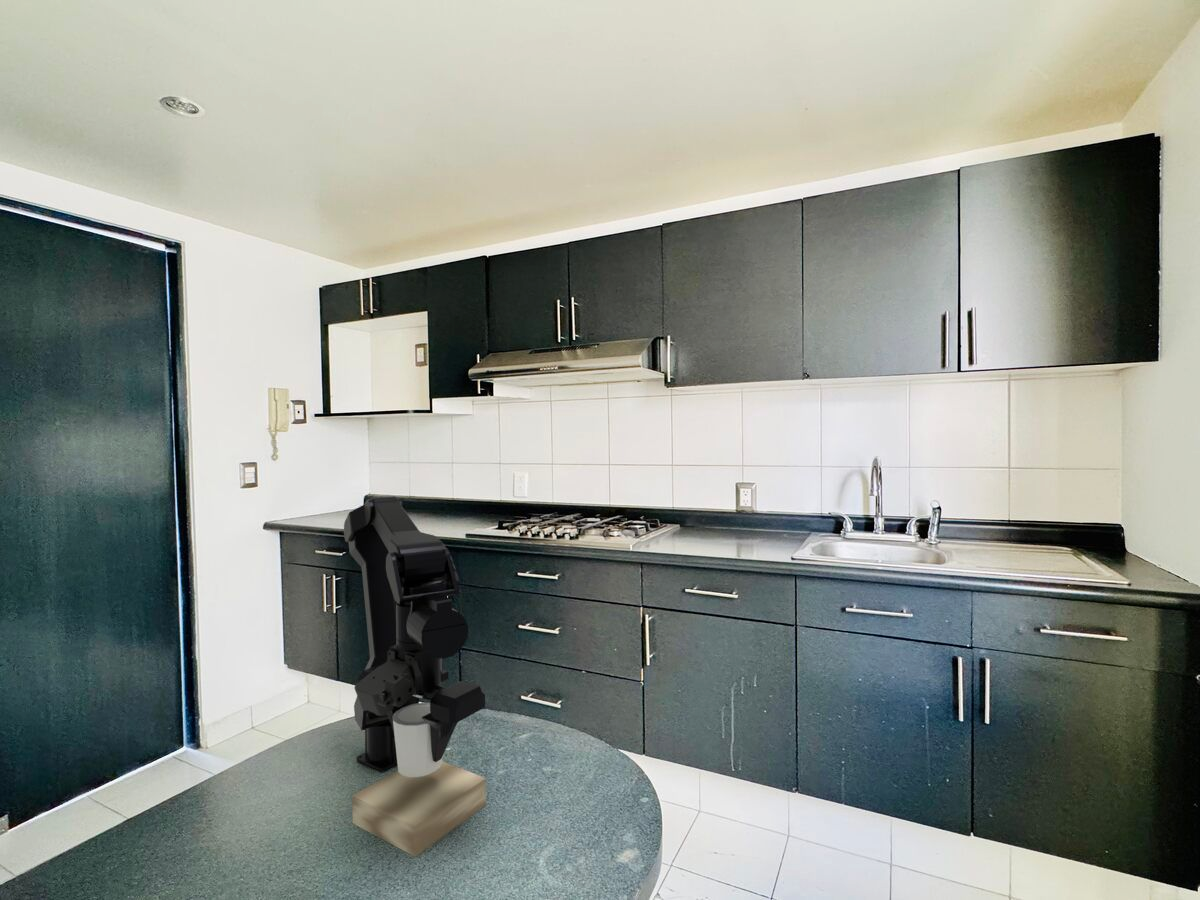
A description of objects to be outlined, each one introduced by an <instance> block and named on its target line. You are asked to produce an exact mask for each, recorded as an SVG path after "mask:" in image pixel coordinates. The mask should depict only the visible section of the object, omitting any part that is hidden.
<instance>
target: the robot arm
mask: <svg viewBox="0 0 1200 900" xmlns="http://www.w3.org/2000/svg"><path fill="white" fill-rule="evenodd" d="M343 536H344V537H343V538H344V541H345V543H347V542H348V549H349V551H348V552H349V554H350V555H351V557H352V559H354V560H355V561H356V563H357V564H358V565H359V566H360V567H361V575H362V585H363V586H362V587H363V596H364V607H365V609H364V610H365V618H366V619H365V620H366V628H367V631H366V632H367V640H368V650H369V660H368V662H367V664H366V666H365V669H363V670H362V672H361V673H360V675H359V676H358V678H357V683H355V686H354V691H355V693H356V698H355V701H354V703H353V704H354V705H353V712H354V721H355V722H356V724H357V726H358V728H359V729H360V730H361V731H364V749H365V750H364V751H365V752H363V753H361V754H359V755H358V756H356V762H358V763H361V764H363V765H366V766H369V767H371V768H373V769H375V770H376V771H379V772H385V771H387V770H388V769H390V768H392V767H394V766H396V765H398V764H397V755H396V745H395V736H394V726H393V717H392V716H393V715H394V713H395V712H396V711H398V710H400V709H401V708H403V707H406V706H409V705H412V704H418V703H420V699H425V700H426V701H430V702H429V703H430V712H431V713H429V714H427V715H425V716H423V717H422V719H423V720H424V721H426V722H427V723H428V724H429V725H430V734H431V749H432V757H433V761H434V762H437V761H439V760H441V758H442V759H443V757H442V756H444V754H445V751H446V750H447V746H448V745H449V742H450V741H451V739H452V735H453V734H454V731H455V729H456V727H457V726H458V723H459V722H461V721H462V720H465V719H466V718H468V717H470V716H471V715H474V714H475V713H477V712H479V711H481V710H483V709H485V708H486V691H485V689H484V688H483V687H482V686H480V685H477V684H474V683H470V682H467V681H463V680H459V681H458V682H455V683H453V684H450V685H449V686H447V687H445V686H441V685H442V682H445V681H446V680H447V681H448V679H449V670H445V669H442V665H443V664H442V663H443V661H442V660H443V659H448V658H450V657H453V656H454V655H456V654H458V653H459V651H460V650H462V648H463V647H464V645H465V644H466V641H467V639H468V635H469V626H468V623H467V620H466V618H465V617H464V616H463V614H462V613H461V612H459V611H457V610H456V609H455V608H453V600H452V599H451V598H450V597H451V596H455V595H459V594H460V590H459V583H460V578H459V575H458V571H457V568H456V565H455V563H454V560H453V558H452V555H451V553H450V551H449V549H448V548H447V547H446V546H445V544H444V543H443V541H442V540H441V539H439V538H438V537H437V536H436V535H434V534H431V533H425V532H422V531H420V529H419V528H418V526H416V524H415V523H414V521H413V520H412V519H411V517H410V516H409V514H408V513H407V512H406V510H405V509H404V506H403V502H402V498H400V497H397V496H378V497H377V496H376V497H371V498H369V499H366V500H365V502H364V504H363V505H360V506H359V507H356V508H355V509H353V510H351V511H349V512H348V514H347V516H346V519H344V524H343ZM443 581H444V582H443Z"/></svg>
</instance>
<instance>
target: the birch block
mask: <svg viewBox="0 0 1200 900" xmlns="http://www.w3.org/2000/svg"><path fill="white" fill-rule="evenodd" d="M351 796H352V797H351V798H352V799H351V800H352V824H353V825H355V826H356V827H358V828H360V829H362V830H365V831H366V832H368V833H370V834H371V835H373V836H376V837H377V838H379V839H381V840H383V841H385V842H387V843H389V844H391V845H392V846H394V847H396V848H399V849H400V850H402V851H404V852H406V853H407V854H409V855H411V856H413V857H417V856H419V855H420V854H422V853H423V852H424V851H426V850H427V849H428V848H429V847H431V846H433V845H434V844H435V843H436V842H438V841H439V840H441V839H442V838H443V837H444V836H446V835H447V834H448V833H450V832H451V831H453V830H455V828H457V827H458V826H460V825H461V824H463V823H464V822H465V821H466V820H468V819H469V818H470V817H472V816H473V815H474V814H476V813H477V812H478V811H479V812H480V810H481V809H483V808H484V807H485V806H487V778H485V777H483V776H481V775H479V774H476V773H473V772H470V771H468V770H466V769H463V768H461V767H458V766H455V765H453V764H451V763H448V762H445V761H443V760H442V764H441V766H440V768H438V769H437V770H436V771H435V772H433V773H430V774H428V775H424V776H420V777H407V776H403V775H401V774H400V773H399V772H398V769H396V771H394V772H392V773H390V774H388V775H387V776H385V777H383V778H381V779H380V780H378V781H376V782H373V784H370V785H369V786H367V787H365V788H363V789H361V790H360V791H358V792H356V793H355V794H352V795H351Z"/></svg>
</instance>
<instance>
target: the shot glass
mask: <svg viewBox="0 0 1200 900" xmlns="http://www.w3.org/2000/svg"><path fill="white" fill-rule="evenodd" d="M429 713H431V712H430V702H419V703H418V704H412V705H409V706H406V707H403V708H401V709H400V710H398V711H396V712H395V713H394V715H393V716H392V717H393V726H394V736H395V745H396V755H397V764H396V765H397V770H398V772H399V773H400V774H401V775H403V776H407V777H420V776H424V775H428V774H430V773H433V772H435V771H436V770H437V769H438V768H440V766H441V764H442V761H443V756H444V755H443V756H442V758H441V760H439V761H437V762H434V761H433V757H432V749H431V734H430V725H429V724H428V723H427V722H426V721H424V720H423V719H422V717H423V716H425V715H427V714H429Z"/></svg>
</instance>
